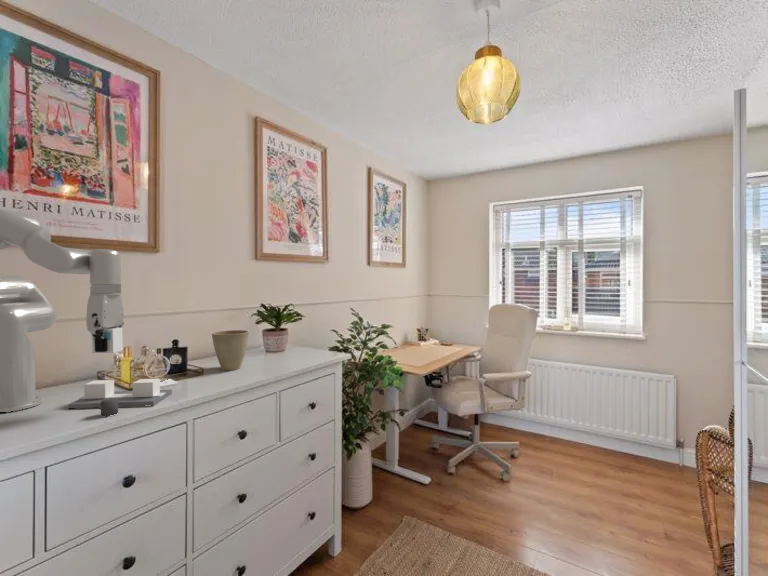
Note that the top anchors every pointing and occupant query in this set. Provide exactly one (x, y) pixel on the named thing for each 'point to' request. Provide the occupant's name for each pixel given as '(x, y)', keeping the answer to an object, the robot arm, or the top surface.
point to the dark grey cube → (109, 407)
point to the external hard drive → (168, 383)
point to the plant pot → (230, 348)
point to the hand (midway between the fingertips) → (107, 349)
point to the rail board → (121, 394)
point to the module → (111, 340)
